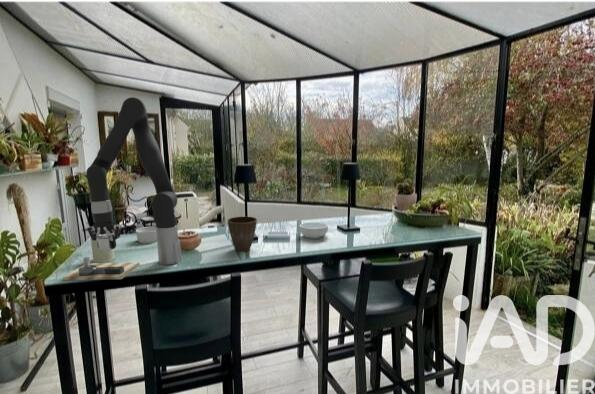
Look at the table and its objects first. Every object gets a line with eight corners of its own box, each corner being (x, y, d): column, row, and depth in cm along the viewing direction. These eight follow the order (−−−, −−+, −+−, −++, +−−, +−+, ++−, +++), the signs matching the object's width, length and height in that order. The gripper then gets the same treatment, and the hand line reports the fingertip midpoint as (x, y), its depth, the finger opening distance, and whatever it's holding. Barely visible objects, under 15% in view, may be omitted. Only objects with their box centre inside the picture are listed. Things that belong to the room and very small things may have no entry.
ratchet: (126, 269, 141) (125, 254, 140) (118, 275, 134) (117, 259, 133) (85, 270, 141) (83, 255, 139) (75, 276, 134) (73, 260, 133)
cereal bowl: (328, 241, 184) (329, 228, 183) (299, 241, 184) (299, 229, 183) (326, 233, 200) (326, 221, 199) (299, 233, 201) (299, 221, 200)
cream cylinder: (118, 259, 158) (115, 235, 156) (96, 264, 151) (93, 239, 149) (111, 255, 164) (108, 231, 162) (90, 260, 157) (87, 235, 155)
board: (139, 265, 149) (139, 262, 149) (121, 279, 134) (121, 276, 133) (87, 265, 149) (87, 263, 149) (62, 280, 134) (62, 277, 133)
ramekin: (161, 242, 184) (160, 230, 183) (135, 245, 179) (134, 233, 178) (161, 236, 196) (160, 225, 195) (137, 239, 192) (136, 227, 191)
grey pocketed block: (115, 247, 146) (113, 234, 145) (110, 250, 141) (108, 237, 140) (105, 248, 146) (103, 235, 145) (99, 251, 141) (97, 238, 140)
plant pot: (253, 243, 180) (253, 215, 177) (260, 251, 166) (260, 221, 164) (226, 247, 175) (225, 217, 172) (231, 255, 161) (230, 224, 158)
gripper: (123, 208, 145) (128, 245, 147) (90, 209, 144) (96, 247, 147) (114, 211, 137) (119, 250, 140) (79, 213, 137) (85, 252, 140)
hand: (107, 248), depth 144 cm, fingers closed on grey pocketed block, 4 cm apart
